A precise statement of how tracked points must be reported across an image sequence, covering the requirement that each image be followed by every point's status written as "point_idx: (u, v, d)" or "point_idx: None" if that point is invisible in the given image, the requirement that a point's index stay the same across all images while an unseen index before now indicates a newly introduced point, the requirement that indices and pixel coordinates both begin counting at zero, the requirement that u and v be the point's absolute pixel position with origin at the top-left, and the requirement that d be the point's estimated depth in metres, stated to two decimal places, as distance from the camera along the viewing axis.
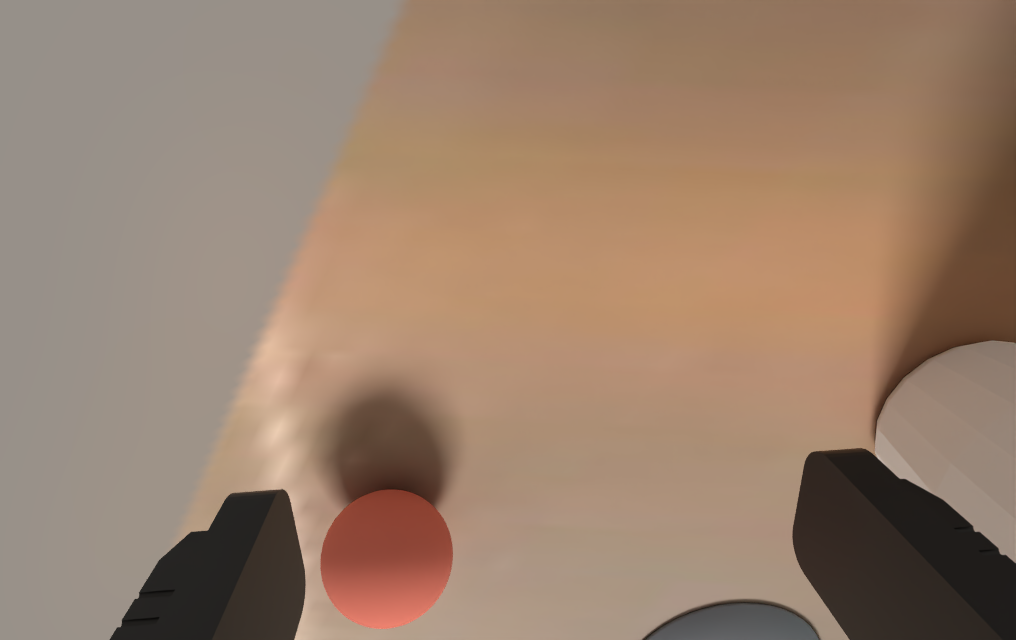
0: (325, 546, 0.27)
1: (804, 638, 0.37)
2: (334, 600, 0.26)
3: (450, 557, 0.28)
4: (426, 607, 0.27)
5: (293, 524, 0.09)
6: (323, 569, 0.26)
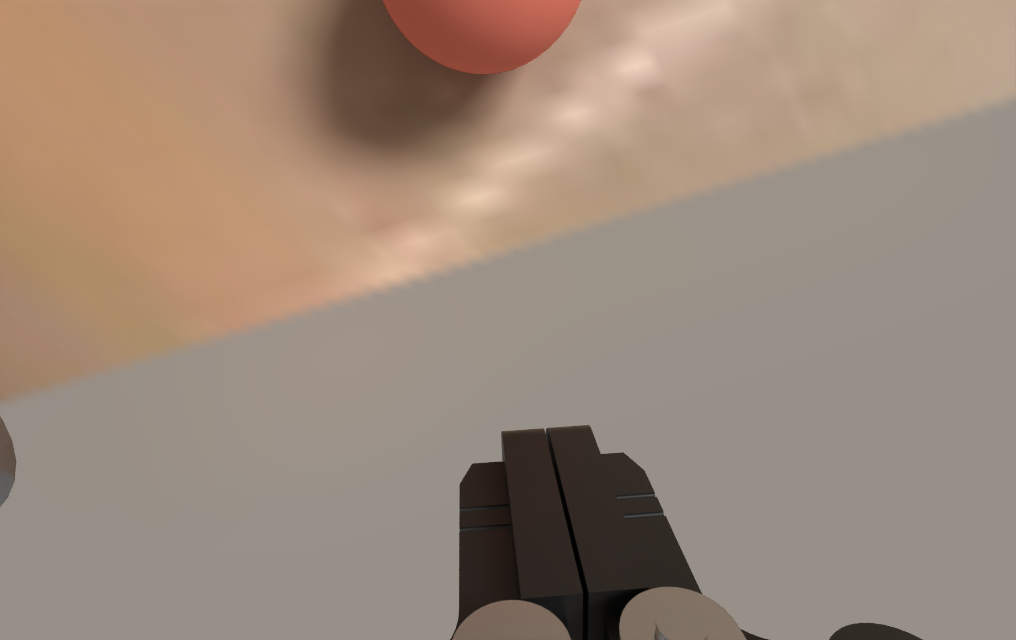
0: (511, 66, 0.17)
1: None
2: (548, 3, 0.15)
3: None
4: None
5: None
6: (532, 48, 0.17)
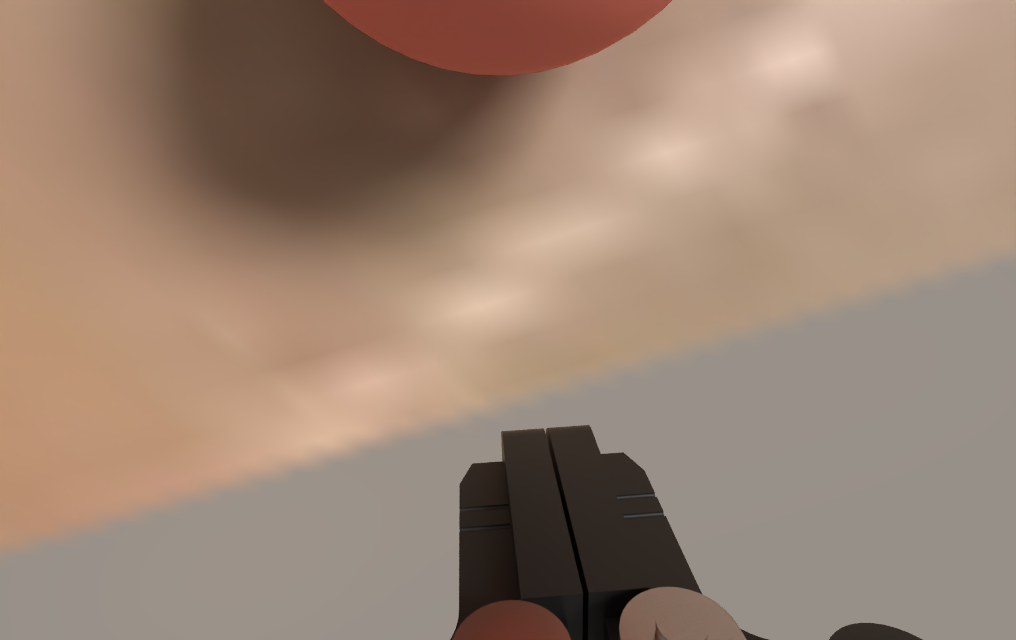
0: (570, 57, 0.07)
1: None
2: None
3: None
4: None
5: None
6: (632, 8, 0.06)
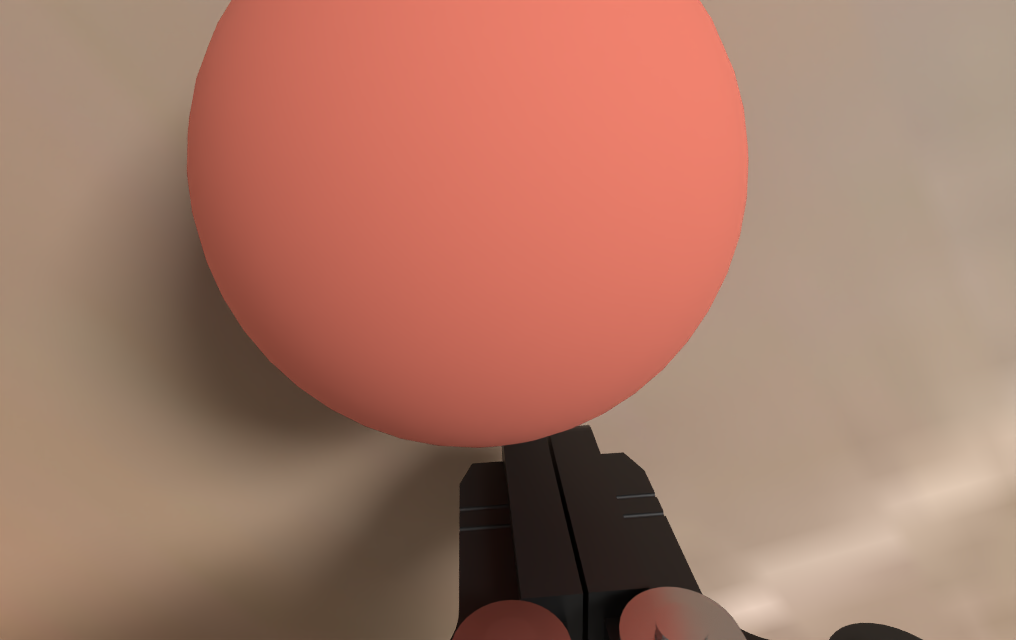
0: None
1: None
2: None
3: None
4: None
5: None
6: None
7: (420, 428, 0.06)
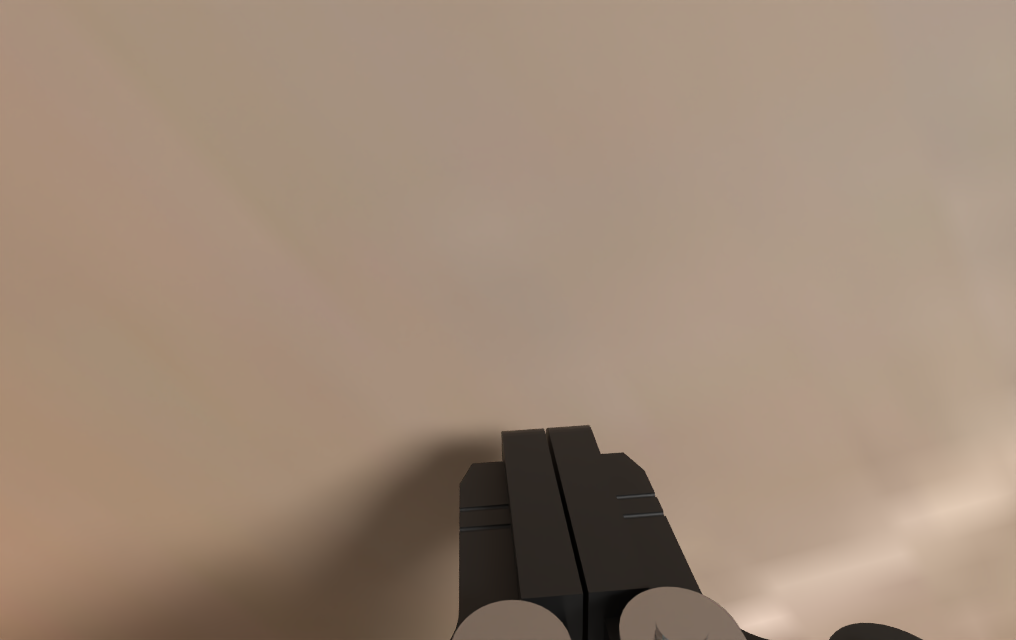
0: None
1: None
2: None
3: None
4: None
5: None
6: None
7: None
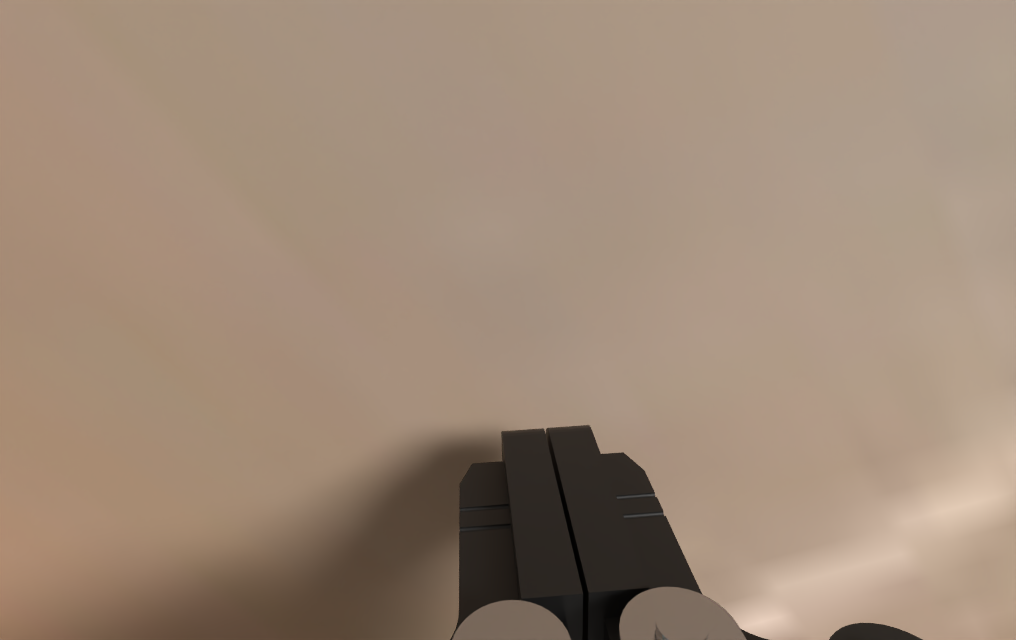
0: None
1: None
2: None
3: None
4: None
5: None
6: None
7: None
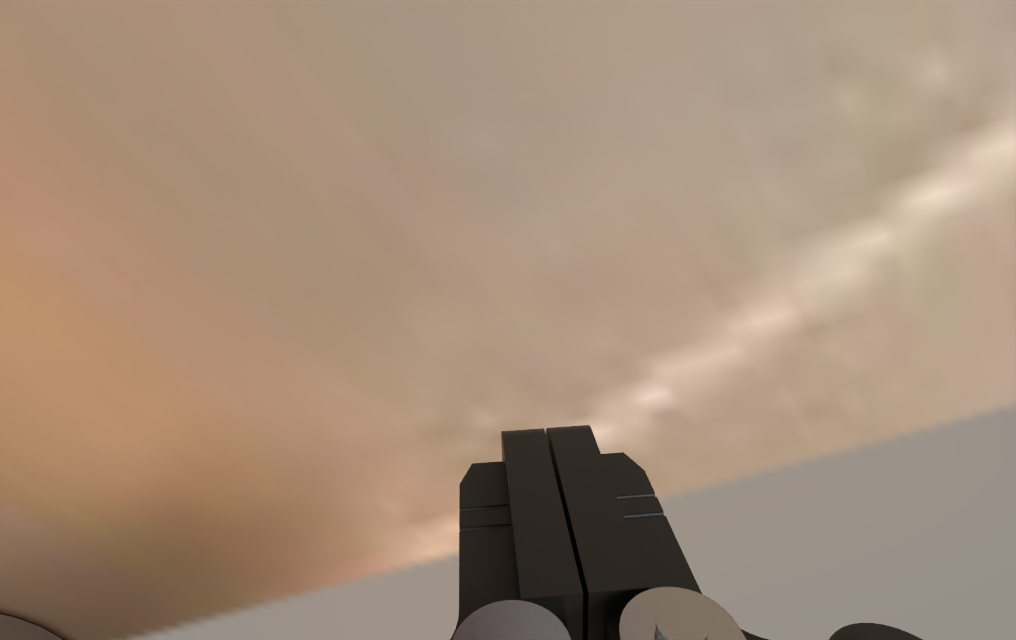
0: None
1: None
2: None
3: None
4: None
5: None
6: None
7: None
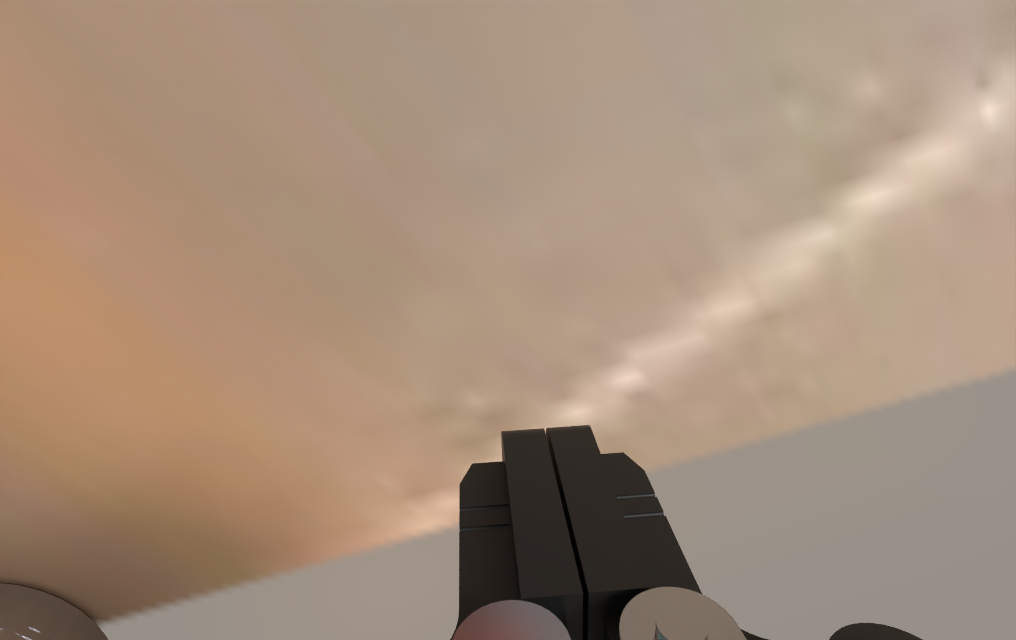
0: None
1: None
2: None
3: None
4: None
5: None
6: None
7: None
